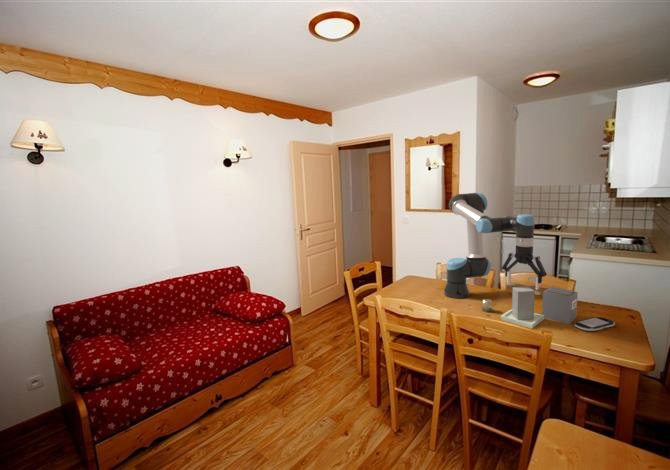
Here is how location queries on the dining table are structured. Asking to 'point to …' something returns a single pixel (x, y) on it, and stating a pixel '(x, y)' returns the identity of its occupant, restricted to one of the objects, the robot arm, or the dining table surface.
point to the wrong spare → (486, 305)
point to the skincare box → (523, 303)
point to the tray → (525, 322)
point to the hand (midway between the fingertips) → (522, 286)
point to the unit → (559, 305)
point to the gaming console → (594, 324)
